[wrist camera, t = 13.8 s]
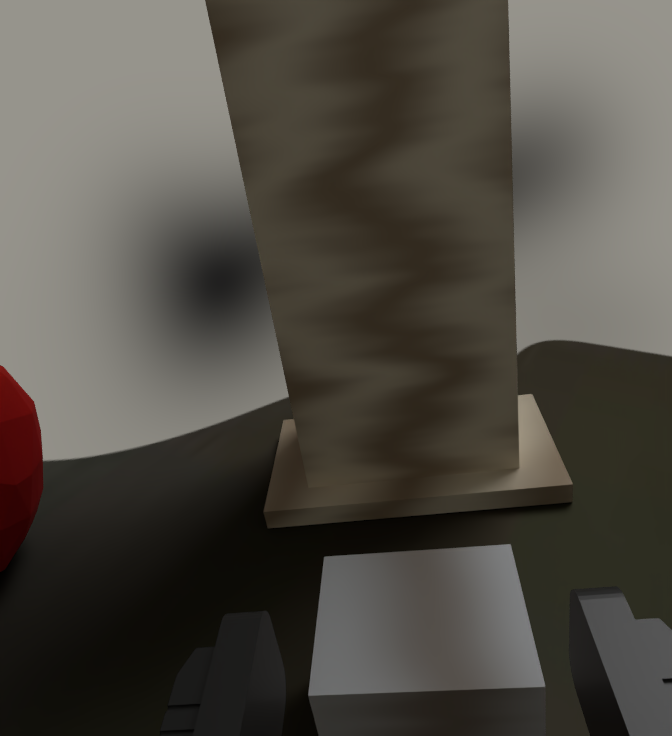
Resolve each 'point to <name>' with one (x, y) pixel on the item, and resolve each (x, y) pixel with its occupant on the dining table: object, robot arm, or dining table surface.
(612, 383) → the dining table surface
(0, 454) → the tomato
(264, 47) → the birch plinth
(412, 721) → the mallet
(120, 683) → the dining table surface
